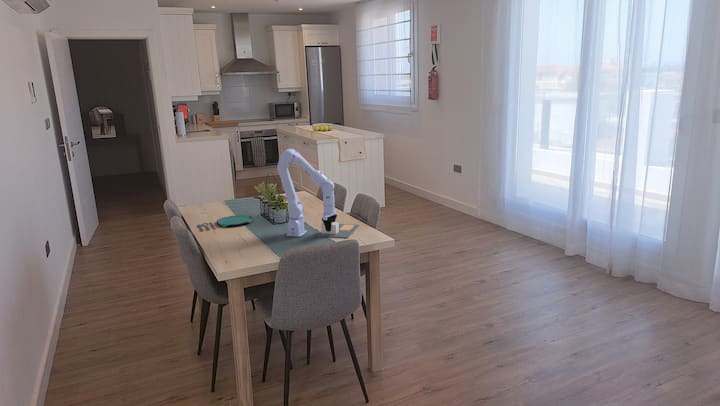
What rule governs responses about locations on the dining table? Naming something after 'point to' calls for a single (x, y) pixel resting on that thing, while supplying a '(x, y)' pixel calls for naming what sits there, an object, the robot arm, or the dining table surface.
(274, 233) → the dining table surface
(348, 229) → the mat
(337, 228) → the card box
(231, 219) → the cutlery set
